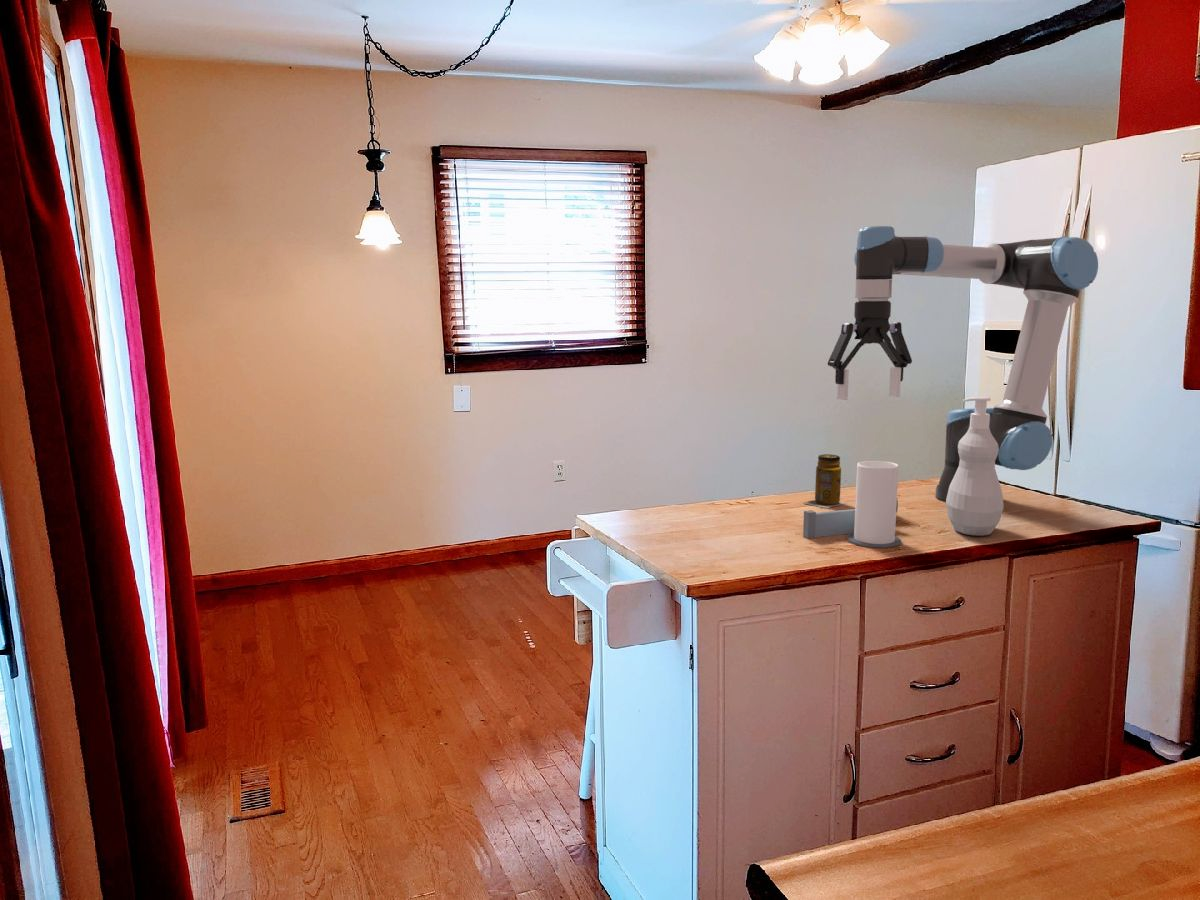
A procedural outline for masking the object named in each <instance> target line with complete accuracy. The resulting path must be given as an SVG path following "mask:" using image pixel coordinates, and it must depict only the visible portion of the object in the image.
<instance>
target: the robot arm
mask: <svg viewBox="0 0 1200 900" xmlns="http://www.w3.org/2000/svg"><path fill="white" fill-rule="evenodd" d="M855 249H856V250H855V253H854V256H853V258H854V265H855V269H856V270H855V292H854V294H855V295H854V298H855V299H857V301H855V302H854V310H853V311H854V314H853V315H854V319H855V321H854V324H853V323H851V322H843V323H842V324H841V330H840V334H839V337H838V339H837V342H836V343H835V345H834V348H833V350H832V352H831V354H830V357H829V358H828V361H827V366H828V367H831V368H832V369H835V376H834V377H835V379H834V380H835V381H834V382H835V384H836V385H837V396H836V397H837V398H836V400H837V399H838V400H842V401H848V400H849V395H848V394H849V375H850V374H849V373H850V371H849V369H846V368H847V367H848V366H849V364H850V362H851V361H852V360H853V358H855V356H856V355H857V353H858V352H859V350H860V349H861V347H863V346H865V345H866V344H868V345H869V344H878V345H880V347H881V348H882V350H883V351H884V352H885V353H884V354H886V356H887V358H889V360H890V361H891V363H892V365H893V366H890V368H889V369H890V370H889V371H890V372H889V390H888V392H889V394H888V397H893V398H900V397H901V382H903V380H904V368H907V367H908V365H911V364H912V362H913V360H912V356H911V353H910V351H909V348H908V345H907V343H906V340H905V338H904V334H903V330H902V328H903V327H902V326H903V325H902V323H901V322H900V321H891V322H889V320H890V319H889V318H891V312H892V310H891V309H892V302H891V300H890V299H891V298H892V291H893V275H900V276H901V275H903V276H919V277H921V276H922V277H936V278H937V277H938V278H939V277H940V278H952V279H953V278H957V279H970V280H971V279H974V280H977V279H978V280H979V281H980V282H981V283H983V284H986V285H998V286H1003V287H1009V288H1016V289H1021V290H1022V289H1023V292H1022V293H1023V295H1024V296H1025V297H1026V299H1027V300H1028V301H1027V305H1026V309H1025V312H1024V317H1023V320H1022V324H1021V329H1020V333H1019V335H1018V340H1017V344H1016V348H1015V351H1014V356H1013V358H1012V363H1011V368H1010V370H1009V374H1008V378H1007V383H1006V386H1005V390H1004V394H1003V398H1002V401H1001V402H999V403H997V404H996V405H994V406H993V407H986V414H990V421H989V428H990V432H991V434H992V436H993V437H994V439H995V440H996V442H997V443H998V448H999V451H998V455H997V458H996V460H995V466H1000V467H1004V468H1005V469H1010V470H1018V471H1027V470H1032V469H1034V468H1036V467H1038V465H1041V464H1042V463H1043V462H1044V461H1045V460H1046V458H1047V457H1048V456H1049V454H1050V452H1051V448H1052V446H1053V435H1052V433H1051V432H1052V431H1051V429H1050V427H1048V426H1047V425H1046V423H1047V419H1048V415H1047V414H1046V413H1045V411H1044V409H1043V407H1044V403H1045V398H1046V396H1047V395H1046V394H1047V391H1048V387H1049V383H1050V380H1051V375H1052V371H1053V368H1054V364H1055V360H1056V357H1057V352H1058V348H1059V345H1060V341H1061V337H1062V334H1063V329H1064V326H1065V322H1066V318H1067V315H1068V310H1069V307H1070V306H1072V305H1073V304H1074V303H1076V302H1078V301H1079V297H1080V292H1081V290H1084V289H1085V288H1087V287H1089V286H1090V284H1093V283H1094V281H1095V280H1096V278H1097V275H1098V270H1099V259H1098V255H1097V253H1096V251H1095V249H1094V247H1093V246H1092V244H1091V243H1090V242H1089V241H1087V240H1086V239H1084V238H1082V237H1077V236H1074V237H1073V236H1071V237H1070V236H1060V237H1054V238H1053V237H1052V238H1051V237H1050V238H1041V239H1038V238H1037V239H1029V240H1021V241H1015V242H1008V243H995V242H994V243H992V242H991V243H988V244H987V245H985V246H970V245H956V244H943V243H942V242H941V240H940V239H939V238H937V237H932V236H931V237H930V236H927V235H925V236H896V234H895V228H894V226H890V225H889V226H888V225H876V226H875V225H874V226H871V225H870V226H864V227H862V228H860V229H859V231H858V234H857V240H856V247H855ZM888 332H889V333H890V336H889V335H888ZM854 333H855V335H854V336H853V334H854ZM852 336H853V337H852ZM890 337H891V338H890ZM851 338H852V339H851ZM892 342H893V343H892ZM971 413H975V407H974V408H957V409H952V410H950V411H949V412H948V415H947V421H946V424H945V428H946V429H945V430H946V431H945V432H946V433H945V450H944V451H945V452H944V454H945V455H944V467H943V470H942V473H941V476H940V478H939V481H938V484H937V485H936V487H935V498H937V499H938V500H941V501H944V502H946V498H947V494H948V490H949V486H950V484H951V482H952V480H953V478H954V475H955V473H956V471H957V469H958V467H959V462H960V457H959V453H958V444H959V441H960V440H961V438H962V437H963V436H964V435H965V434H966V433H967V431H968V429H969V427H970V415H971Z"/></svg>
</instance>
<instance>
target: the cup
mask: <svg viewBox="0 0 1200 900" xmlns="http://www.w3.org/2000/svg"><path fill="white" fill-rule="evenodd" d="M855 482H856V485H855V487H856V488H855V508H854V509H855V526H854V538H855V539H856V540H858V541H860V542H864V543H871V544H888V543H892V542H894V541H895V536H896V525H897V524H896V521H897V513H896V506H897V500H898V485H899V483H898V482H899V464H898V463H896V462H891V461H883V460H863V461H859V462H857V465H856V480H855Z"/></svg>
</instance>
